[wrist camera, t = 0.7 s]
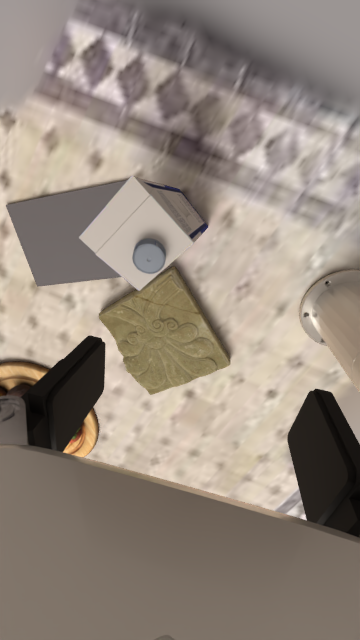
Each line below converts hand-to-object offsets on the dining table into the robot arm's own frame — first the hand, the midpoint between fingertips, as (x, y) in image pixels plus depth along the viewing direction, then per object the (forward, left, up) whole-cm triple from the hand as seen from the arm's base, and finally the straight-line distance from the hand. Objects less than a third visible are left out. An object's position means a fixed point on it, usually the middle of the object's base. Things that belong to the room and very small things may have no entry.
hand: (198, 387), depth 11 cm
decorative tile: (+12, +13, -32) cm, 37 cm away
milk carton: (+6, -6, -31) cm, 32 cm away
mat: (+23, -6, -31) cm, 39 cm away
